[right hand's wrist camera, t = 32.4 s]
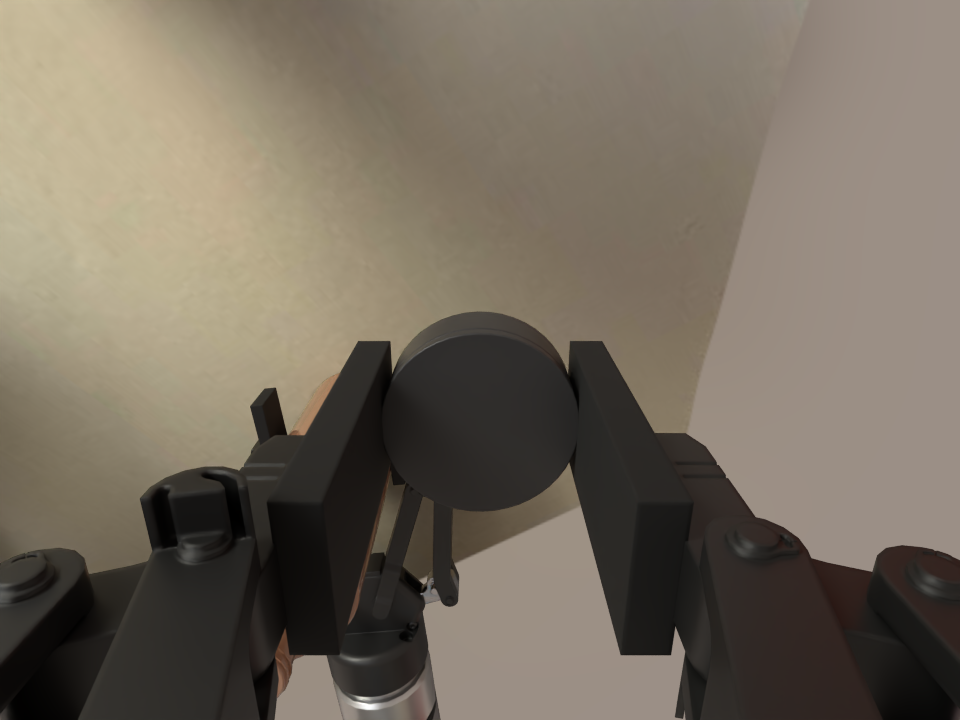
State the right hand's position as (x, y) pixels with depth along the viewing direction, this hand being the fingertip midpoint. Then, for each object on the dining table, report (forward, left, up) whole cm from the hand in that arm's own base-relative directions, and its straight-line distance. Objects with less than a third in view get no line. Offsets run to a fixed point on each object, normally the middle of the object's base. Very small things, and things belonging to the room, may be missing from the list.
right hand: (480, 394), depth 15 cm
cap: (0, 0, +1) cm, 1 cm away
